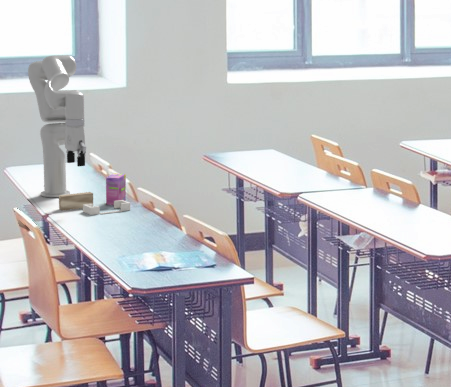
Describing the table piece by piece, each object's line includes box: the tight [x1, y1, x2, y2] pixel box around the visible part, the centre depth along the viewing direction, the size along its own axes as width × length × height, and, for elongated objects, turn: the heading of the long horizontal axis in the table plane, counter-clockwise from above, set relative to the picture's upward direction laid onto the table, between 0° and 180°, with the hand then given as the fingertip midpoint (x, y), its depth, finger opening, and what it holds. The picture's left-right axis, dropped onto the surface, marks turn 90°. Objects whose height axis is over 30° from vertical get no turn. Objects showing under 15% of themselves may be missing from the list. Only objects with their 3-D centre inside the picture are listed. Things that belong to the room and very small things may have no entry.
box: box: [105, 172, 127, 206], centre depth 431 cm, size 10×6×12 cm, turn 168°
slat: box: [58, 191, 94, 211], centre depth 420 cm, size 3×14×6 cm, turn 123°
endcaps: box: [82, 200, 131, 216], centre depth 415 cm, size 8×18×3 cm, turn 123°
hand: (76, 164), depth 417 cm, fingers open, 9 cm apart
